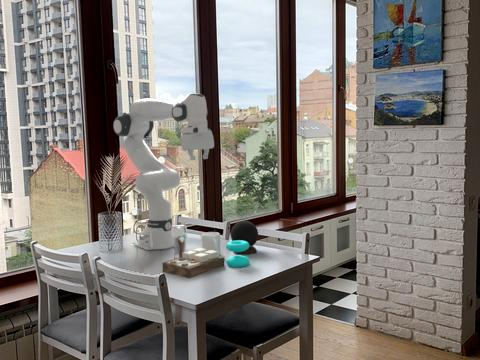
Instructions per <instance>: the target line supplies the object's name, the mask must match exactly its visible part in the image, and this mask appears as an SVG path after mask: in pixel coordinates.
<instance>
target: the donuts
mask: <svg viewBox="0 0 480 360" xmlns="http://www.w3.org/2000/svg"><path fill="white" fill-rule="evenodd" d="M225 248H226V249H227V250H228V251H230V252H242V251H245V250H247V249H248V248H249V243H248V242H246V241H242V240H235V241H232V240H230V241H228V242H227V243H226V245H225ZM226 264H227V266H229V267H231V268H243V267H246V266H248V265H249V264H250V258H249V257H248V256H247V255H239V254H235V255H232V256H229V257H228V258H227V260H226Z"/></svg>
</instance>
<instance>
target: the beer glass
mask: <svg viewBox="0 0 480 360" xmlns="http://www.w3.org/2000/svg"><path fill="white" fill-rule="evenodd" d="M172 241H173V246H174V247H173V249H174V252H173V259H176V258H179V257H182V253H183V252H186V251H187V243H188V229H187V226H186V225H183V224H177V225H172Z"/></svg>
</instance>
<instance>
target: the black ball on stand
mask: <svg viewBox="0 0 480 360" xmlns="http://www.w3.org/2000/svg"><path fill="white" fill-rule="evenodd" d="M258 238H259V230H258V228H257V226H256V225H255V224H254V223H252V221H249V220H241V221H240V220H239V221H238V222H236V223H235V224H234V225H233V226H232V228H231V230H230V239H231V241H235V240H242V241H246V242H248V243H249V248H248V249H247V250H245V251H242V252H233V254H235V255H243V256H247V255H253V254H256V253H257V251H258V250H257V249H256V247H255V244H256V243H257V241H258Z"/></svg>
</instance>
